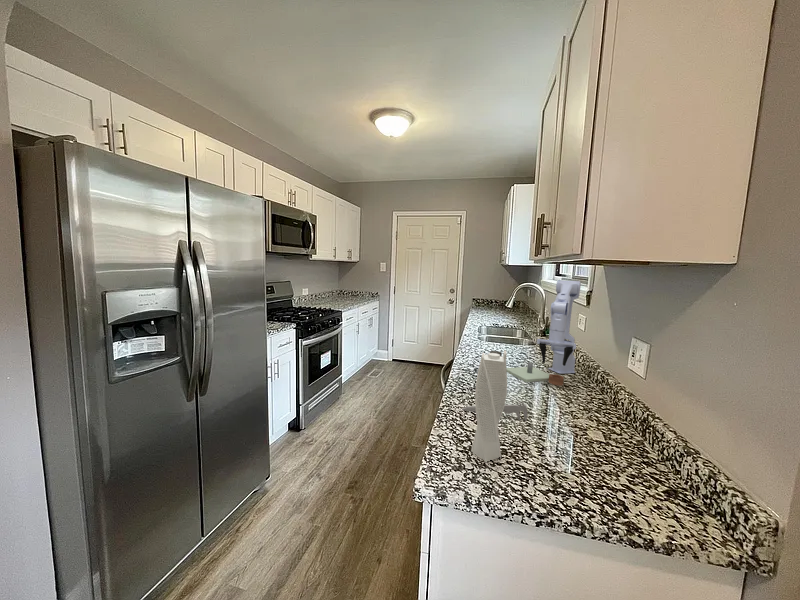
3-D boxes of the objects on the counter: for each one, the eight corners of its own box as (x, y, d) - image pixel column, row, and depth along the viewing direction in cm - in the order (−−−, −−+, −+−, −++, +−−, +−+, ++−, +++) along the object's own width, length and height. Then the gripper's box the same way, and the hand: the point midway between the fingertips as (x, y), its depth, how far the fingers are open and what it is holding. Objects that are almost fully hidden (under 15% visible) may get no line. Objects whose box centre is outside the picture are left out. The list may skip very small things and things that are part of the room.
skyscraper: (508, 459, 84) (518, 351, 81) (486, 467, 80) (496, 353, 77) (486, 444, 91) (494, 343, 88) (465, 450, 87) (472, 345, 84)
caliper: (526, 420, 107) (528, 401, 106) (526, 422, 106) (528, 403, 105) (462, 409, 113) (463, 391, 113) (461, 410, 112) (463, 392, 111)
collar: (556, 380, 147) (557, 373, 147) (566, 385, 142) (566, 378, 142) (545, 381, 146) (546, 374, 145) (555, 385, 140) (555, 378, 140)
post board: (532, 369, 163) (533, 357, 162) (556, 380, 148) (557, 367, 147) (504, 370, 158) (505, 358, 158) (525, 382, 143) (527, 369, 142)
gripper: (539, 329, 135) (535, 362, 135) (579, 333, 131) (575, 368, 131) (537, 328, 142) (534, 359, 142) (575, 332, 137) (571, 365, 138)
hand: (553, 363), depth 137 cm, fingers open, 7 cm apart
